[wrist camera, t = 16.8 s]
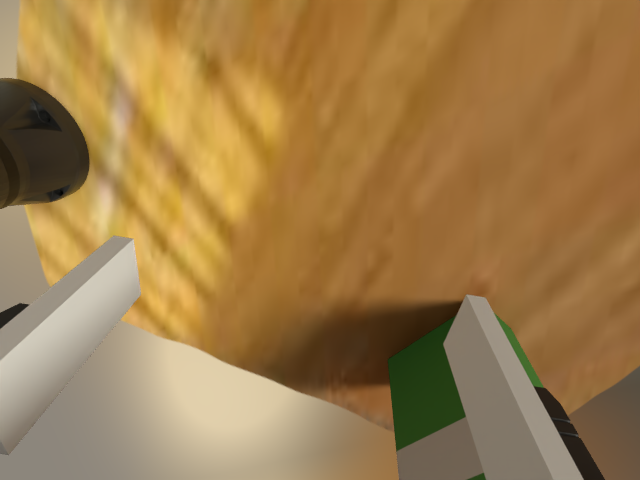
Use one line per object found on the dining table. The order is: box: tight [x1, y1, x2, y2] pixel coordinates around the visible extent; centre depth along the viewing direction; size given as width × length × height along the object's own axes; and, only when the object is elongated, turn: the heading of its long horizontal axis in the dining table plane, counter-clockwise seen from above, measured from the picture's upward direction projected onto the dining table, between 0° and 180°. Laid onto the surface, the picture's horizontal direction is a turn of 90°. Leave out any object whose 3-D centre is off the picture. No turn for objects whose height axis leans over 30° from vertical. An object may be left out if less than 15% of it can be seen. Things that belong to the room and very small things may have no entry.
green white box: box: [388, 312, 544, 480], centre depth 43 cm, size 18×7×24 cm, turn 138°
